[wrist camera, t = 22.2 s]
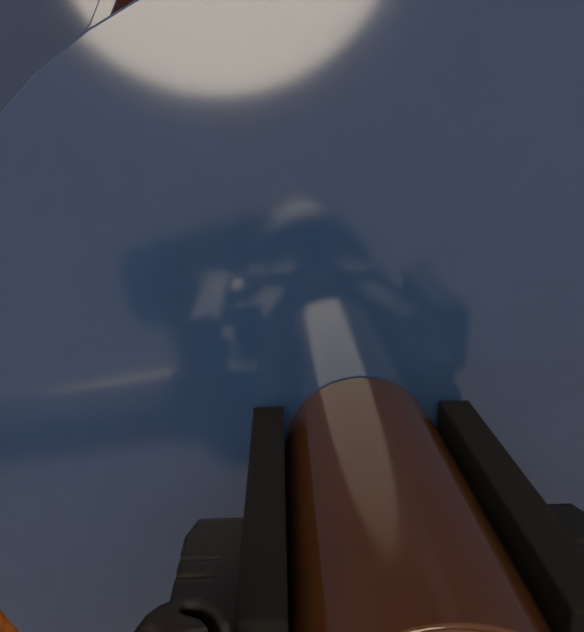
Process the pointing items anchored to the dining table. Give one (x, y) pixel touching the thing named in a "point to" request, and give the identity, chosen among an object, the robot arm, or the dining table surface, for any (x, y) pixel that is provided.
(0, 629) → the dining table surface
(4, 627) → the dining table surface
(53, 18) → the blue round pan
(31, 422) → the lid
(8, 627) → the dining table surface
